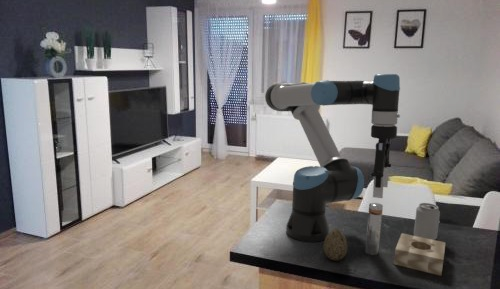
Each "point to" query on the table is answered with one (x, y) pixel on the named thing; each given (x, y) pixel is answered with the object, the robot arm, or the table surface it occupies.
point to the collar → (420, 254)
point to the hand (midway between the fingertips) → (380, 191)
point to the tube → (373, 228)
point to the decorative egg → (335, 245)
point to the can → (427, 221)
